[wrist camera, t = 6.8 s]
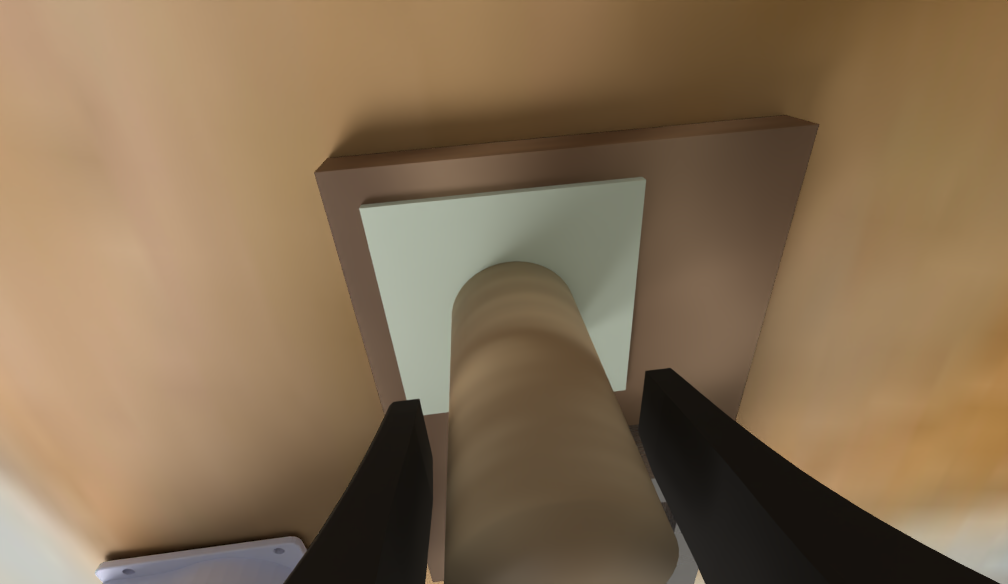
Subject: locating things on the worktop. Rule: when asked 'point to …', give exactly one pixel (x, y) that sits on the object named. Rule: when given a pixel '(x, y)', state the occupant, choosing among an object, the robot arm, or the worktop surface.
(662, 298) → the walnut board
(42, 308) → the worktop surface
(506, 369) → the maple peg
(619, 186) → the pad
